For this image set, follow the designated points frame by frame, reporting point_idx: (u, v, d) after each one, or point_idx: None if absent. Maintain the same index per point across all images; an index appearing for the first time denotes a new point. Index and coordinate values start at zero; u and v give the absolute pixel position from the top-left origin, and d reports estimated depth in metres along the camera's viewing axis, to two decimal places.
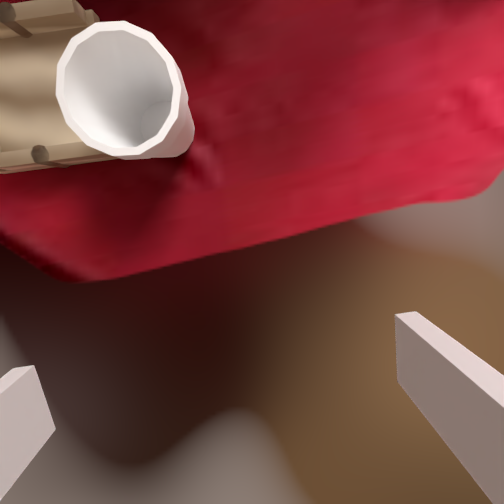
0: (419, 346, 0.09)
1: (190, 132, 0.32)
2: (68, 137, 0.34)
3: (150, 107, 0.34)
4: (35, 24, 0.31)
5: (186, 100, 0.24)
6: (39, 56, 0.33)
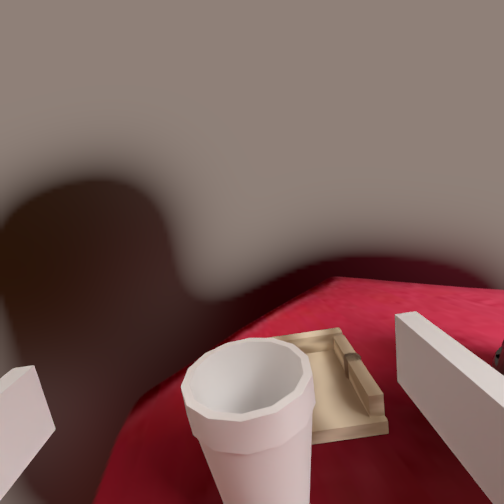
0: (419, 345, 0.09)
1: None
2: None
3: None
4: (352, 375, 0.35)
5: (240, 448, 0.18)
6: (331, 382, 0.36)
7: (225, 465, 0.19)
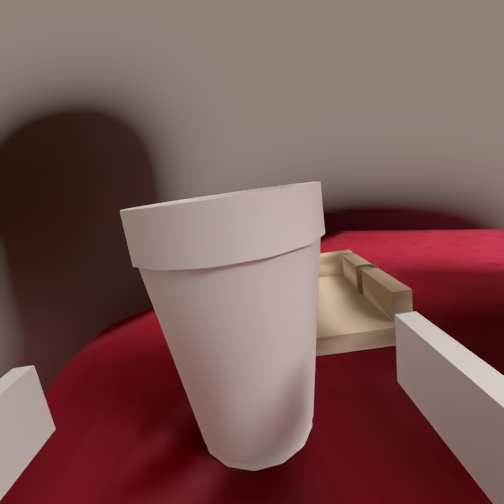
0: (419, 346, 0.09)
1: (213, 406, 0.13)
2: None
3: None
4: (368, 284, 0.27)
5: (199, 256, 0.11)
6: (340, 298, 0.29)
7: (179, 303, 0.12)
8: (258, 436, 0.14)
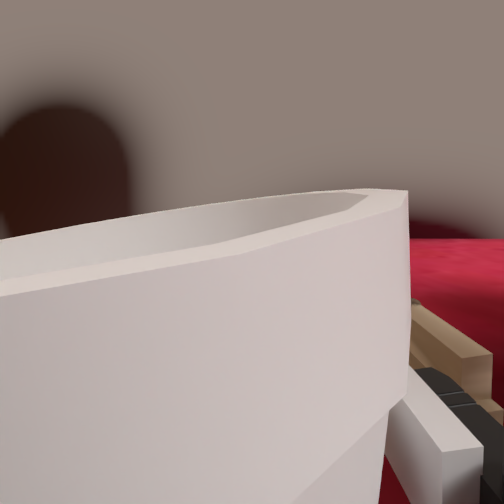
0: None
1: None
2: None
3: None
4: None
5: None
6: None
7: None
8: None
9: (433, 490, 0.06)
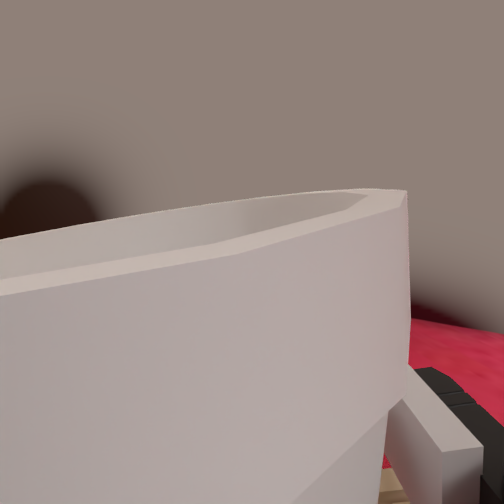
0: None
1: None
2: None
3: None
4: None
5: None
6: None
7: None
8: None
9: (433, 490, 0.06)
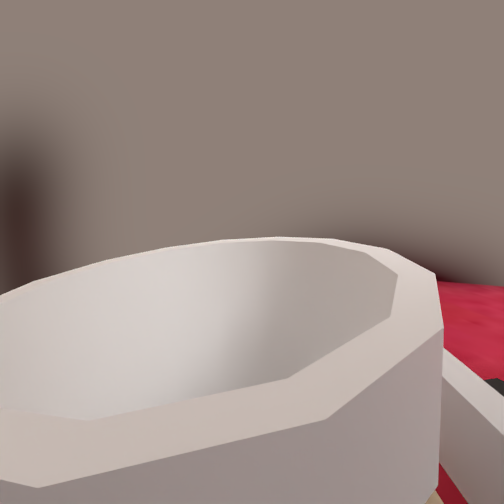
0: None
1: None
2: None
3: None
4: None
5: None
6: None
7: None
8: None
9: None
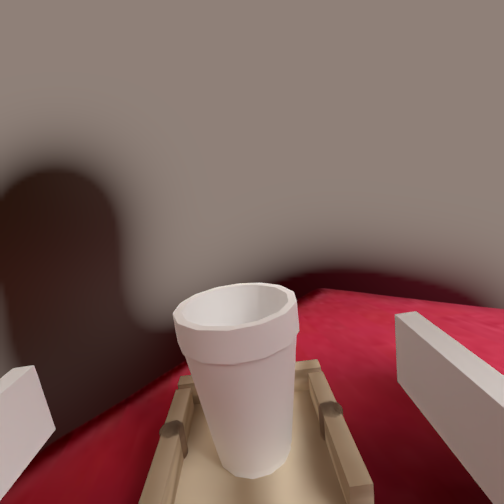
0: (419, 346, 0.09)
1: (229, 438, 0.22)
2: (195, 472, 0.24)
3: None
4: (329, 439, 0.24)
5: (227, 358, 0.19)
6: (299, 446, 0.25)
7: (212, 380, 0.20)
8: (256, 457, 0.22)
9: None
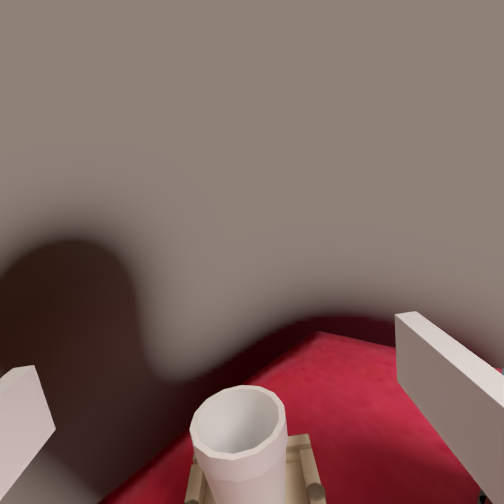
0: (419, 345, 0.09)
1: None
2: None
3: None
4: None
5: (232, 478, 0.25)
6: None
7: (222, 488, 0.27)
8: None
9: None
